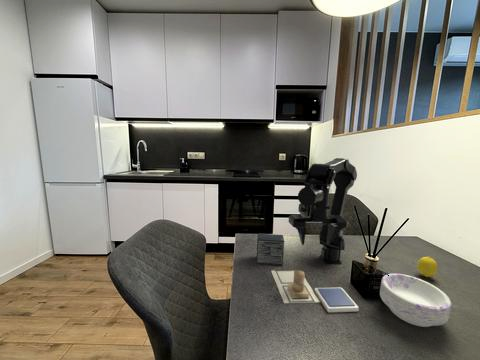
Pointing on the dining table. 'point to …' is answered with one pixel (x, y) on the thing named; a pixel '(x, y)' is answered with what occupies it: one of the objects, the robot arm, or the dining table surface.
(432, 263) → the lemon
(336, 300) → the ink pad
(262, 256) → the small box
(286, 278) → the print sheet
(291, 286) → the stamp
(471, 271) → the dining table surface
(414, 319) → the paper bowls
